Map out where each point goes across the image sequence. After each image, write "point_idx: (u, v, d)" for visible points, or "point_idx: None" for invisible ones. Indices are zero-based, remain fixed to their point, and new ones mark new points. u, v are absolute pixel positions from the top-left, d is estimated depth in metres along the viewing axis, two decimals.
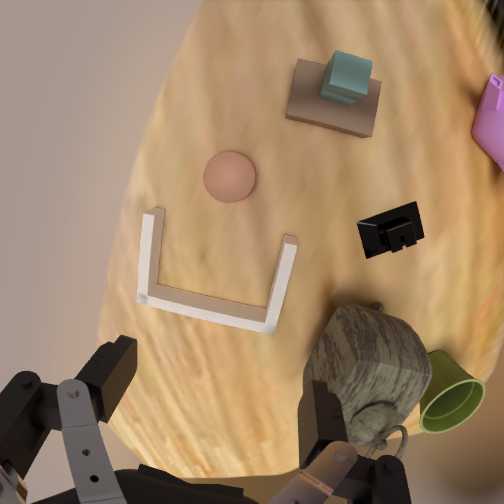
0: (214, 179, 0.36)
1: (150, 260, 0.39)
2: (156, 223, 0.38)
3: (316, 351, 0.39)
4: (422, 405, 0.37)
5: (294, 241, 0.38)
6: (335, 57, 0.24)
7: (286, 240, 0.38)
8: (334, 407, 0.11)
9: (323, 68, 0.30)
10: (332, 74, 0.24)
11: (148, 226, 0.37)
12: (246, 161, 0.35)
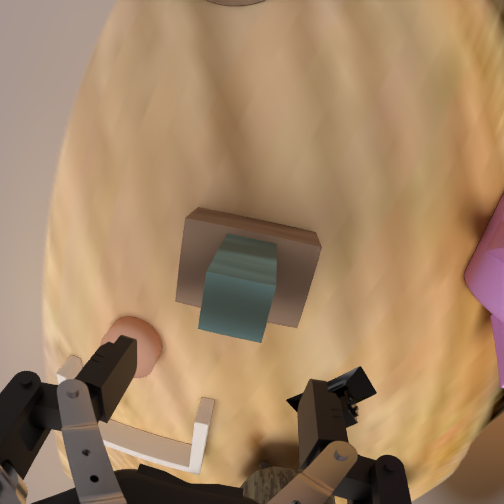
0: None
1: None
2: None
3: None
4: None
5: (208, 414, 0.31)
6: (206, 284, 0.16)
7: (198, 414, 0.31)
8: (334, 407, 0.11)
9: (224, 232, 0.22)
10: (201, 314, 0.17)
11: None
12: (141, 343, 0.28)
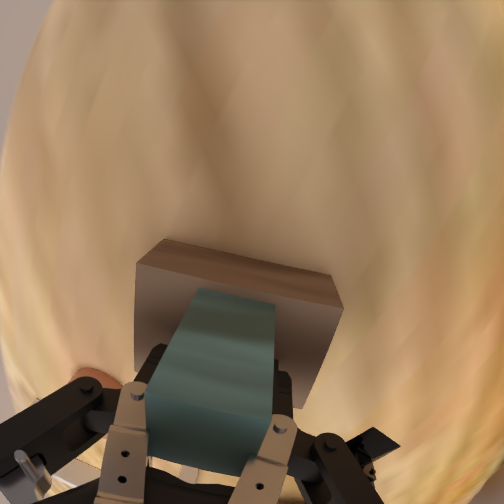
0: None
1: None
2: None
3: None
4: None
5: (192, 478, 0.23)
6: (148, 408, 0.08)
7: (180, 478, 0.22)
8: (284, 384, 0.12)
9: (195, 287, 0.14)
10: None
11: None
12: None
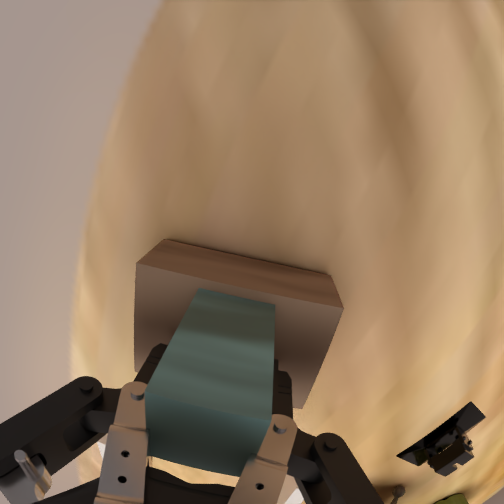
0: None
1: None
2: None
3: None
4: None
5: None
6: (148, 408, 0.08)
7: None
8: (284, 384, 0.12)
9: (195, 287, 0.14)
10: None
11: None
12: None
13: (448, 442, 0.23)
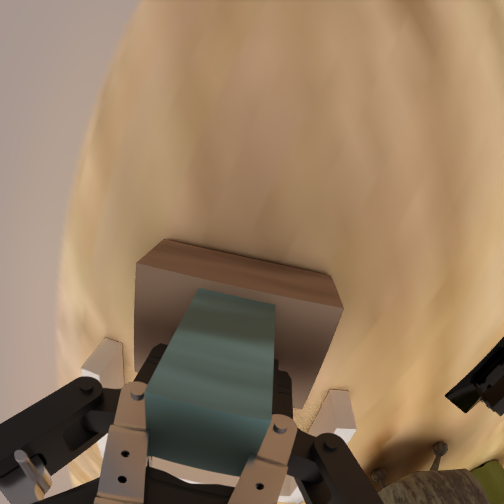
0: None
1: None
2: (107, 378, 0.19)
3: None
4: None
5: (349, 412, 0.19)
6: (148, 408, 0.08)
7: (337, 415, 0.19)
8: (284, 384, 0.12)
9: (195, 287, 0.14)
10: None
11: None
12: None
13: (498, 376, 0.20)
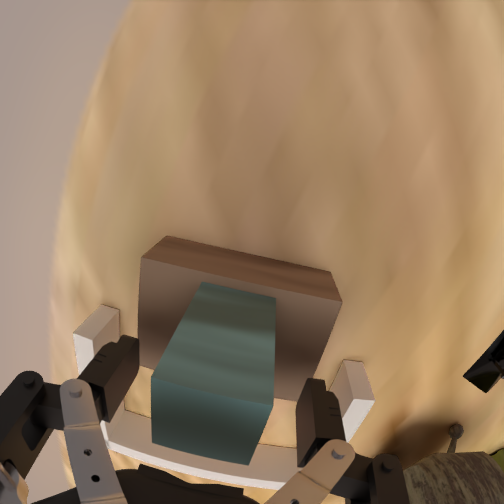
0: None
1: None
2: (101, 346, 0.18)
3: None
4: None
5: (366, 383, 0.18)
6: (154, 394, 0.08)
7: (353, 385, 0.18)
8: (332, 406, 0.12)
9: (198, 280, 0.15)
10: (154, 428, 0.09)
11: (86, 355, 0.17)
12: None
13: None
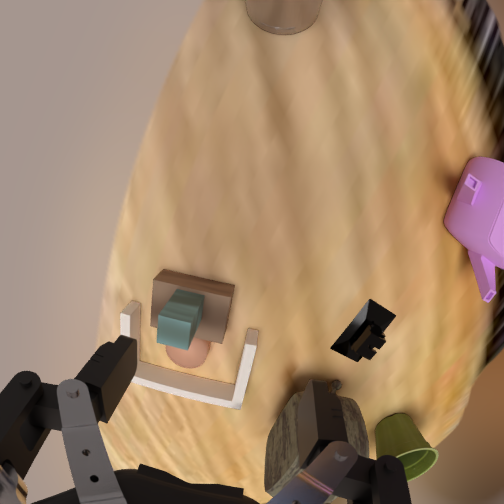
0: (174, 352, 0.42)
1: None
2: (133, 319, 0.41)
3: (277, 424, 0.42)
4: None
5: (255, 338, 0.41)
6: (158, 321, 0.32)
7: (247, 338, 0.41)
8: (334, 407, 0.11)
9: (175, 288, 0.38)
10: (158, 335, 0.32)
11: (125, 323, 0.40)
12: (198, 341, 0.41)
13: None
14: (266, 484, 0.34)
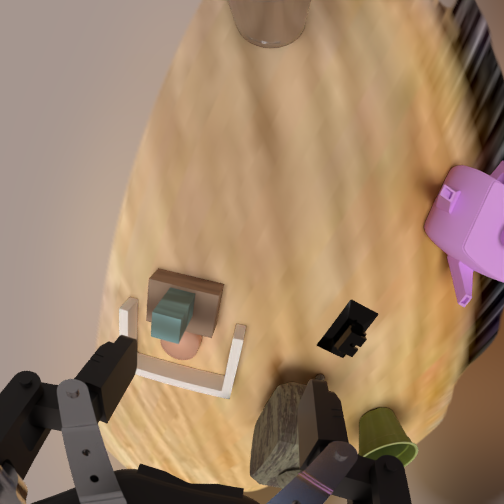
0: (168, 345, 0.46)
1: None
2: (130, 314, 0.45)
3: (263, 414, 0.45)
4: None
5: (242, 333, 0.45)
6: (152, 317, 0.35)
7: (235, 333, 0.44)
8: (334, 407, 0.11)
9: (169, 287, 0.42)
10: (152, 330, 0.36)
11: (124, 318, 0.44)
12: (190, 335, 0.45)
13: None
14: (251, 469, 0.38)
